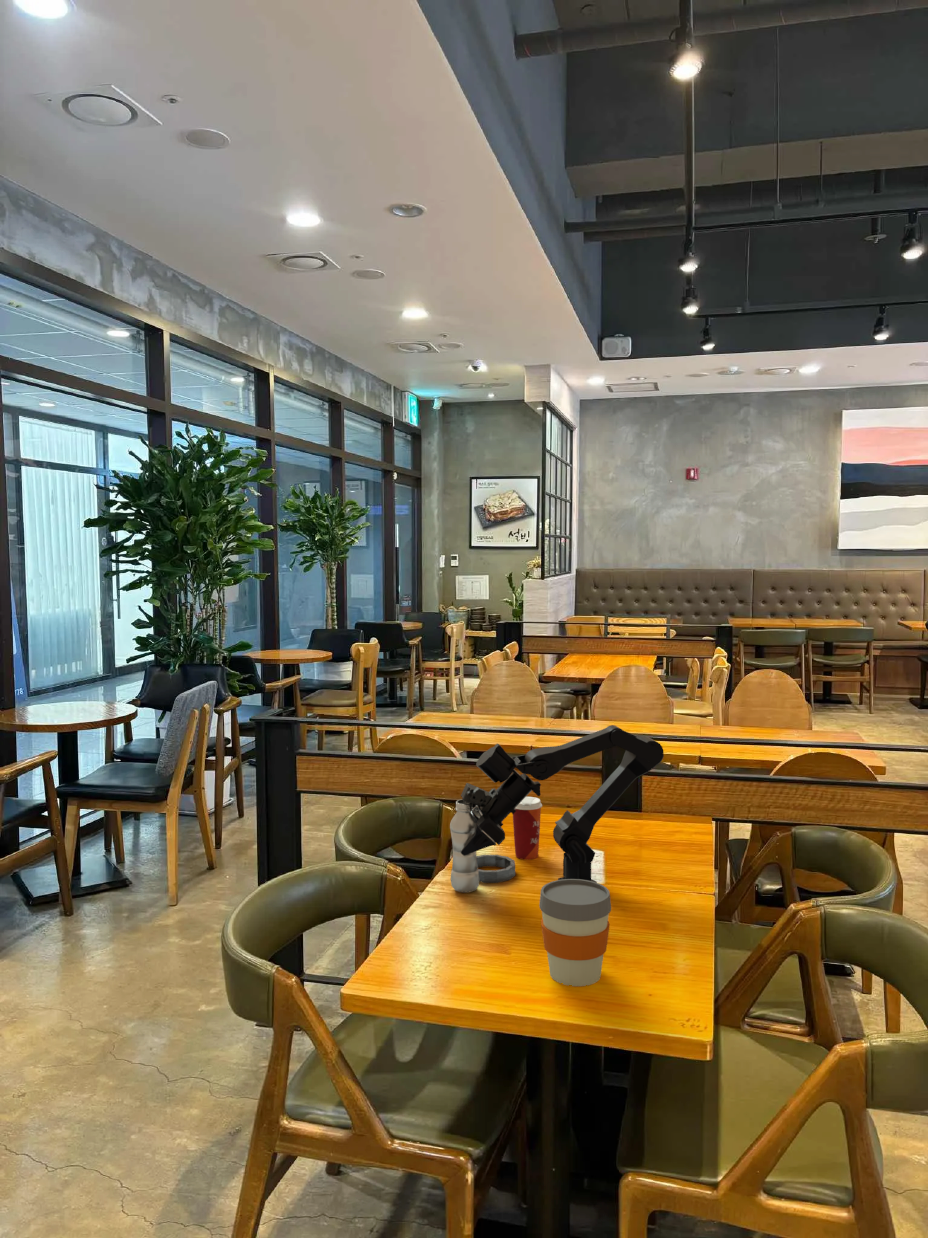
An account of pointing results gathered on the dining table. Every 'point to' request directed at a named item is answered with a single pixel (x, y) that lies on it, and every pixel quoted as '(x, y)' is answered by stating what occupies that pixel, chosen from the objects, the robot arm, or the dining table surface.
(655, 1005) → the dining table surface
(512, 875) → the collar
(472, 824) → the plastic bottle
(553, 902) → the reusable coffee cup
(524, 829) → the paper cup
